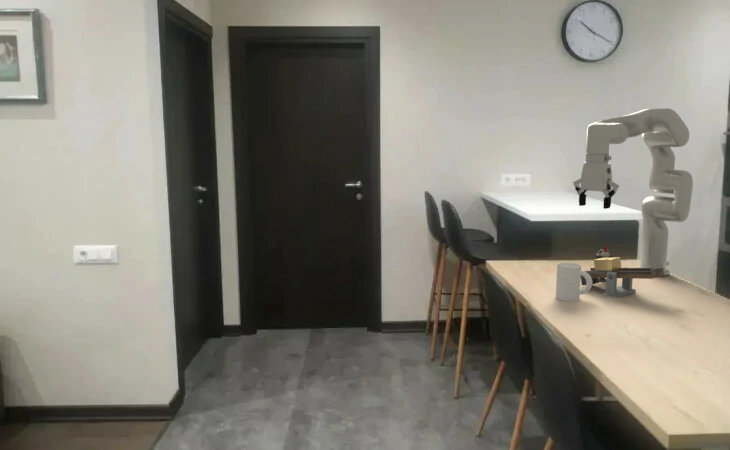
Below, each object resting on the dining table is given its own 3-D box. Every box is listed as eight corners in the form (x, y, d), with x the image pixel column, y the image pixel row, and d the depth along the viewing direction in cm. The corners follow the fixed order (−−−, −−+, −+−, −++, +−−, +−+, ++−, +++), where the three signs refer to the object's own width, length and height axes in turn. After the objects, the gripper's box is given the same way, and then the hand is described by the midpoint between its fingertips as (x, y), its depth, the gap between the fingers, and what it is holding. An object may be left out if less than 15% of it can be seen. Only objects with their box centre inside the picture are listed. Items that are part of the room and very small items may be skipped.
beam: (592, 282, 237) (591, 266, 237) (664, 283, 215) (663, 266, 215) (580, 285, 232) (578, 269, 232) (653, 287, 210) (651, 269, 210)
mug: (592, 303, 212) (593, 269, 210) (555, 300, 216) (557, 266, 214) (590, 296, 220) (592, 263, 218) (555, 294, 223) (557, 261, 222)
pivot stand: (620, 288, 231) (621, 266, 229) (635, 291, 226) (637, 269, 225) (601, 294, 223) (603, 271, 222) (617, 297, 218) (618, 274, 217)
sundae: (608, 283, 238) (610, 245, 236) (590, 280, 242) (593, 243, 240) (613, 279, 243) (615, 242, 241) (596, 277, 247) (598, 240, 245)
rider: (604, 270, 232) (602, 257, 232) (621, 271, 226) (620, 257, 226) (595, 273, 228) (593, 259, 228) (612, 273, 222) (611, 259, 222)
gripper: (625, 159, 215) (622, 208, 218) (581, 157, 228) (579, 203, 231) (613, 160, 210) (610, 210, 213) (569, 158, 224) (567, 205, 227)
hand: (594, 206), depth 222 cm, fingers open, 9 cm apart
